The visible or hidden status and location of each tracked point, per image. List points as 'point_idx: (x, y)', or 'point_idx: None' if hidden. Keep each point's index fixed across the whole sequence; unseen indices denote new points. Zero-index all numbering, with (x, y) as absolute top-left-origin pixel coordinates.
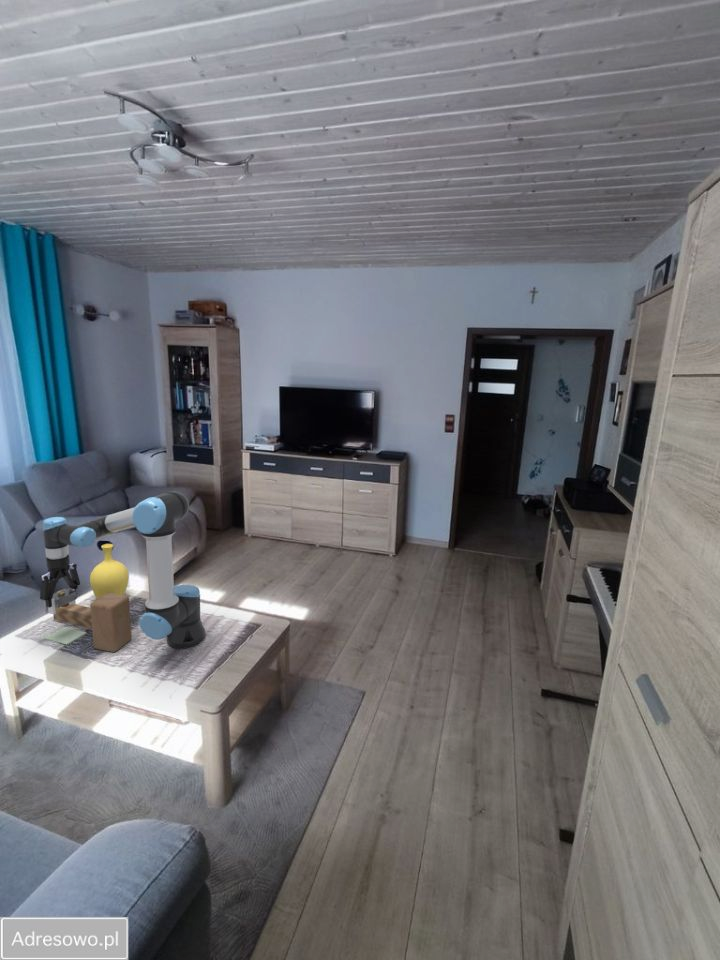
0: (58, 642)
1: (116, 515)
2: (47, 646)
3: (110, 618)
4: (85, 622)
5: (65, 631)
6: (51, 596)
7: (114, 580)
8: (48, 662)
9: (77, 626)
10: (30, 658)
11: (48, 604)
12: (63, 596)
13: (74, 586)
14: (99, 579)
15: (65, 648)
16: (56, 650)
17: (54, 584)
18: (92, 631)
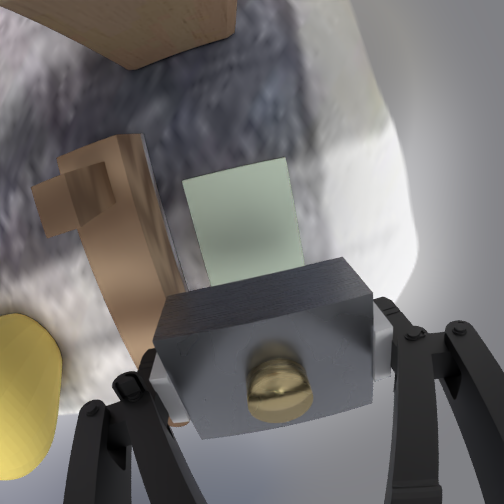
0: (293, 204)
1: None
2: (328, 216)
3: None
4: (158, 230)
5: (232, 262)
6: (411, 349)
7: None
8: (382, 103)
9: (179, 266)
10: (399, 187)
11: (398, 313)
12: (296, 322)
13: (139, 402)
14: (7, 414)
15: (299, 138)
16: (326, 155)
17: (423, 461)
18: (236, 2)
